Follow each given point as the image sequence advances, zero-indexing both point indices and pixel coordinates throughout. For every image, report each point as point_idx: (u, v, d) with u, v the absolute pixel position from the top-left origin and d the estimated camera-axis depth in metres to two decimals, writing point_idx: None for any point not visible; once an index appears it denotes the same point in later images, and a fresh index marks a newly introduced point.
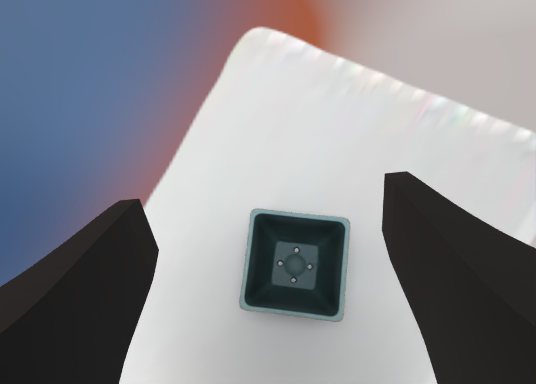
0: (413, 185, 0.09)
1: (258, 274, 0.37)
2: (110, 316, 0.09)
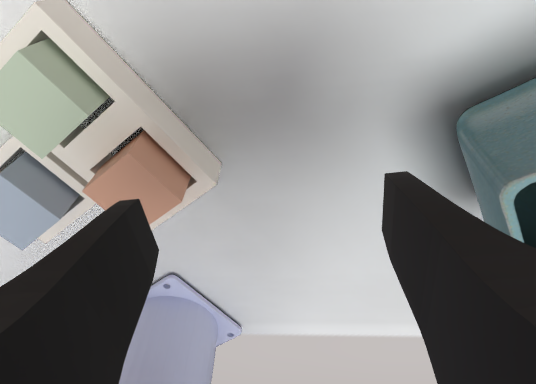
0: (413, 185, 0.09)
1: None
2: (109, 316, 0.09)
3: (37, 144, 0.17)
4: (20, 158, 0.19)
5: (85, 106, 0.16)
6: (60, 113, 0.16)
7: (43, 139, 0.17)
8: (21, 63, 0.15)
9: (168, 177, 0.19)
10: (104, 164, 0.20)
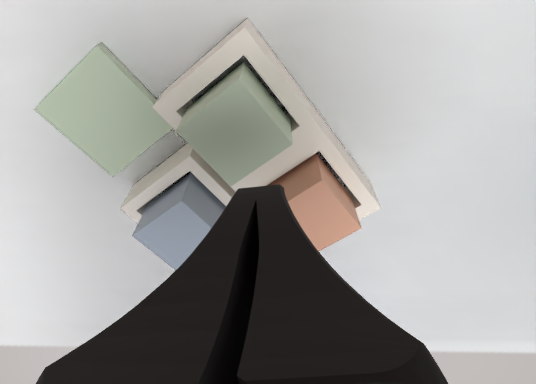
0: (271, 199, 0.09)
1: None
2: None
3: (230, 171, 0.16)
4: (189, 182, 0.19)
5: (286, 133, 0.16)
6: (264, 141, 0.15)
7: (238, 167, 0.16)
8: (239, 92, 0.14)
9: (345, 202, 0.18)
10: None
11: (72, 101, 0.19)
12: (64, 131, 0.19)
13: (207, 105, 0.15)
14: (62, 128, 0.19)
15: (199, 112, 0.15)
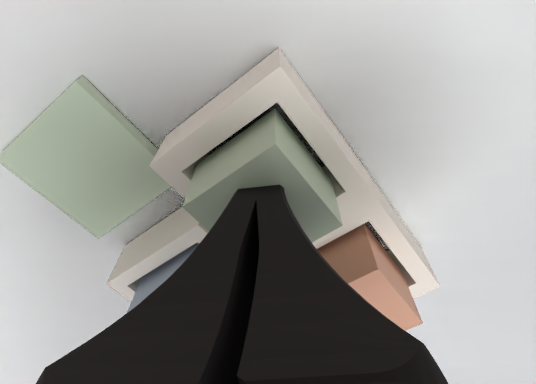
0: (271, 199, 0.09)
1: None
2: None
3: None
4: None
5: (334, 209, 0.11)
6: (304, 221, 0.11)
7: None
8: (274, 160, 0.10)
9: (401, 287, 0.14)
10: None
11: (44, 149, 0.14)
12: (35, 185, 0.15)
13: (227, 175, 0.10)
14: (32, 181, 0.15)
15: (216, 184, 0.11)
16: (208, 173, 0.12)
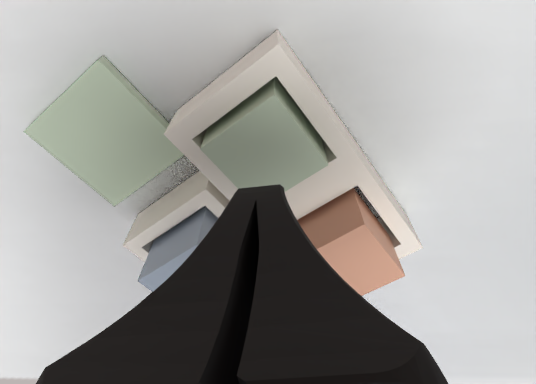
0: (271, 199, 0.09)
1: None
2: None
3: None
4: (204, 219, 0.16)
5: (321, 152, 0.14)
6: (297, 161, 0.14)
7: None
8: (273, 108, 0.13)
9: (386, 244, 0.16)
10: None
11: (68, 122, 0.16)
12: (59, 156, 0.17)
13: (236, 122, 0.13)
14: (56, 152, 0.17)
15: (227, 129, 0.13)
16: (220, 124, 0.14)
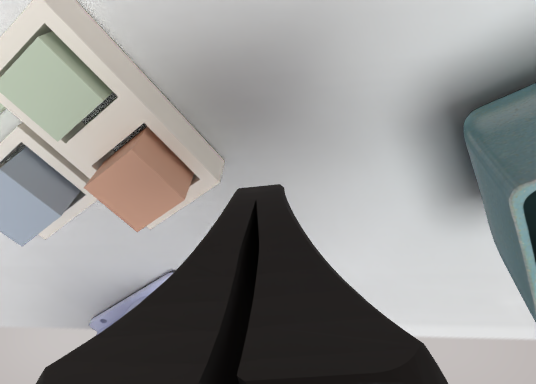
0: (271, 199, 0.09)
1: None
2: None
3: (53, 127, 0.18)
4: (21, 153, 0.19)
5: (100, 91, 0.17)
6: (76, 97, 0.17)
7: (59, 122, 0.17)
8: (41, 49, 0.16)
9: (171, 174, 0.18)
10: (106, 160, 0.20)
11: None
12: None
13: (16, 61, 0.16)
14: None
15: (10, 68, 0.16)
16: None
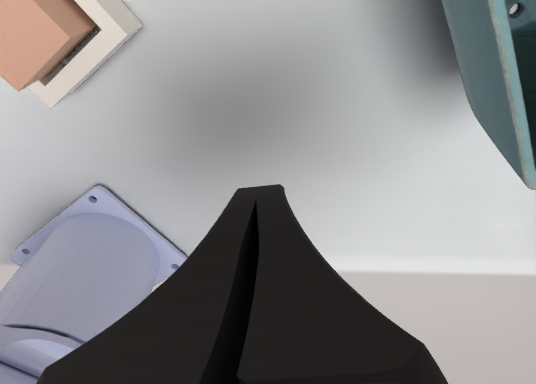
0: (271, 199, 0.09)
1: None
2: None
3: None
4: None
5: None
6: None
7: None
8: None
9: (55, 8, 0.14)
10: None
11: None
12: None
13: None
14: None
15: None
16: None
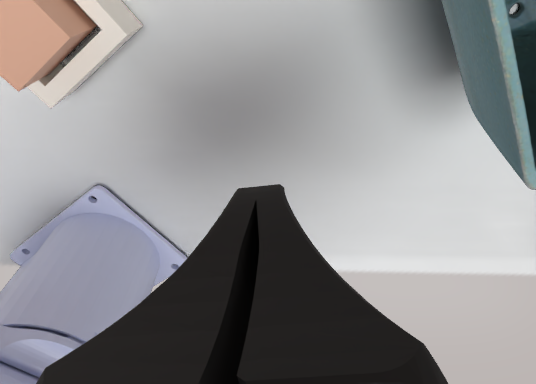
0: (271, 199, 0.09)
1: None
2: None
3: None
4: None
5: None
6: None
7: None
8: None
9: (55, 8, 0.14)
10: None
11: None
12: None
13: None
14: None
15: None
16: None
